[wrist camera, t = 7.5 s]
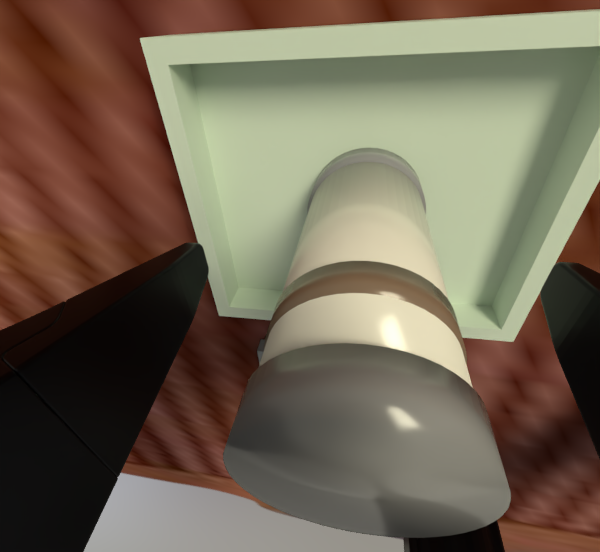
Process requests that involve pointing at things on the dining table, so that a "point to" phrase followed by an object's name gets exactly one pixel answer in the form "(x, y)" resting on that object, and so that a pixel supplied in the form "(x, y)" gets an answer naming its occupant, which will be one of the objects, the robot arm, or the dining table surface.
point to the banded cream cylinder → (367, 373)
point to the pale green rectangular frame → (389, 144)
